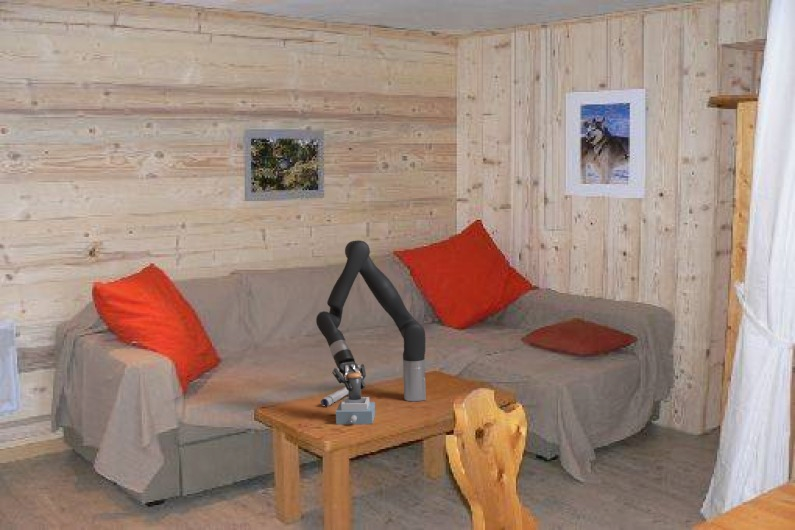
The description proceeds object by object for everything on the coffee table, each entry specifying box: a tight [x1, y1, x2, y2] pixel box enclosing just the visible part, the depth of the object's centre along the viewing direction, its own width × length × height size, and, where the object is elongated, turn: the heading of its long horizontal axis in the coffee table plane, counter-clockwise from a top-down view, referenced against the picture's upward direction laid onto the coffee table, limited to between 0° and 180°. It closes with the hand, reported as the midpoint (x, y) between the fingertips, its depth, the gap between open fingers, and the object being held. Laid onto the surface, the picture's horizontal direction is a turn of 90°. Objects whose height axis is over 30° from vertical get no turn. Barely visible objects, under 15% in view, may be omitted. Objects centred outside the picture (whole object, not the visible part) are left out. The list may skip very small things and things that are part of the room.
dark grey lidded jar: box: [347, 371, 362, 400], centre depth 351 cm, size 5×5×10 cm
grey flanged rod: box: [320, 386, 348, 407], centre depth 382 cm, size 5×7×25 cm
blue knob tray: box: [335, 396, 376, 425], centre depth 351 cm, size 14×17×8 cm
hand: (356, 389), depth 350 cm, fingers closed on dark grey lidded jar, 5 cm apart
